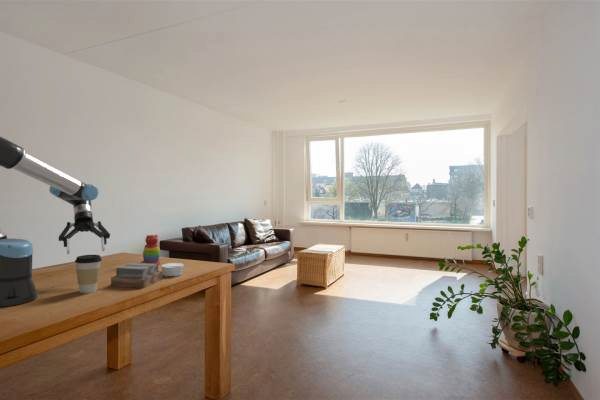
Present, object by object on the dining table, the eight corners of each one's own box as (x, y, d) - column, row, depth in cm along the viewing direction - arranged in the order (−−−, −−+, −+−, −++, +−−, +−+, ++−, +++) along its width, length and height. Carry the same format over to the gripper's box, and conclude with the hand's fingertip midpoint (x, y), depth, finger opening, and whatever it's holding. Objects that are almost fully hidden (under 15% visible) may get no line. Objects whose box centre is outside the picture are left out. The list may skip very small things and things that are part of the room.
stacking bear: (157, 262, 206) (158, 233, 206) (163, 264, 198) (163, 235, 198) (139, 264, 199) (139, 234, 199) (143, 267, 191) (144, 236, 191)
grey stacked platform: (143, 288, 150) (143, 270, 150) (110, 286, 152) (111, 268, 152) (162, 279, 166) (162, 263, 166) (132, 277, 168) (132, 261, 168)
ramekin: (163, 278, 168) (164, 268, 168) (158, 273, 177) (158, 264, 177) (186, 275, 175) (186, 265, 175) (180, 271, 184) (180, 262, 184)
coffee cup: (93, 286, 150) (94, 253, 150) (105, 290, 145) (106, 256, 145) (69, 291, 142) (70, 256, 142) (81, 295, 137) (82, 259, 137)
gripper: (111, 219, 173) (116, 253, 162) (51, 221, 158) (52, 258, 146) (113, 210, 169) (118, 243, 157) (52, 210, 153) (52, 247, 142)
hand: (86, 250), depth 152 cm, fingers open, 13 cm apart
